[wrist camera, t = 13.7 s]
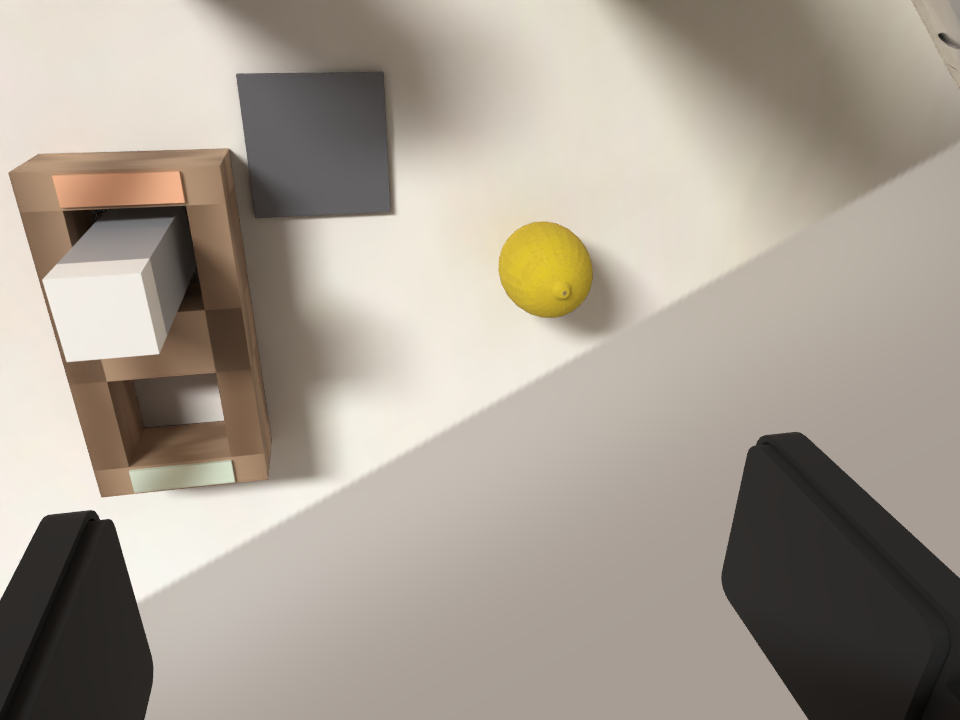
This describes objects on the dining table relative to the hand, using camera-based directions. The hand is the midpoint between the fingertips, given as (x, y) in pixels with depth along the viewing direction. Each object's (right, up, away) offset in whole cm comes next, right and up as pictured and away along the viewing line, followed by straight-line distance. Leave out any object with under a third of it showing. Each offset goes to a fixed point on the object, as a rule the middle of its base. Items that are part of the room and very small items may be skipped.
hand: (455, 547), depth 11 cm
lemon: (+4, +10, +37) cm, 39 cm away
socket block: (-19, +6, +35) cm, 40 cm away
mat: (-9, +15, +32) cm, 36 cm away
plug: (-19, +10, +32) cm, 39 cm away
